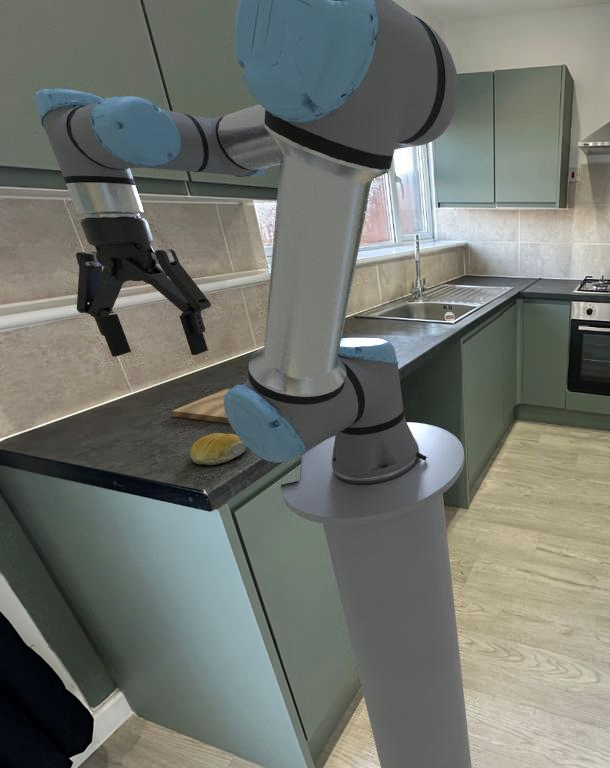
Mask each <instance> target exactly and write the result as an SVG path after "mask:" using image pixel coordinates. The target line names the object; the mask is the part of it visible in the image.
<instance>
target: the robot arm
mask: <svg viewBox="0 0 610 768" xmlns="http://www.w3.org/2000/svg"><path fill="white" fill-rule="evenodd" d="M234 48H235V56H236V60H237V63H238V65H239V66H240V67H241V68H243V69H244V71H243V72H242V80H243V81H244V85H245V86H246V88H247V90H248V92H249V93H250V95H251V96H252V97H253V99H254V100H255V102H257V104H255V105H252V106H250V107H246V108H244V109H243V108H242V109H240V110H237V111H234V112H231V113H229V114H225V115H222V116H218V117H214V118H210V117H209V118H208V117H204V116H198V115H193V114H188V113H181V112H177V111H172V110H167V109H162V108H161V107H159V106H158V105H156V103H153V102H152V101H151V100H149V99H146V98H143V97H141V96H135V95H134V96H133V95H125V96H122V95H115V96H112V97H105V98H103V97H101V96H98V95H96V94H94V93H90V92H86V91H80V90H76V89H66V88H52V89H50V88H43V89H39V90H37V91H36V92H35V95H34V101H35V104H36V108H37V111H38V115H39V122H40V123H41V126H42V127H43V129H44V131H45V133H46V136H47V139H48V142H49V143H50V146H51V149H52V151H53V154H54V156H55V159H56V162H57V164H58V167H59V169H60V172H61V174H62V177H63V180H64V183H65V186H66V188H67V191H68V194H69V197H70V199H71V203H72V205H73V208H74V212H75V213H76V214H78V215H80V216H81V215H82V216H83V218H81V220H80V221H79V223H80V225H81V229H82V231H83V234H84V236H85V238H86V239H85V240H86V241H87V243H88V244H89V245H91V246H93V247H94V248H95V251H93V250H92V251H81V252H80V251H79V252H76V254H75V258H76V262H77V266H78V281H77V296H76V297H77V299H76V311H77V312H78V313H79V314H87V315H90V316H91V317H92V318H93V319H94V321H95V323H96V327H97V329H98V331H99V333H100V334H101V336H103V337H104V339H105V342H106V344H107V346H108V349H109V352H110V354H111V356H112V357H114V358H115V357H119V356H123V355H125V354H130V353H132V350H131V347H130V344H129V342H128V339H127V336H126V334H125V331H124V329H123V326H122V323H121V320H120V317H119V314H117V313H116V312H115V310H113V308H114V306H115V304H116V301H117V299H118V297H119V295H120V292H121V290H122V287H123V285H124V283H127V282H144V283H145V284H148V285H150V286H151V287H153V288H154V289H155V290H156V291H158V292H159V294H161V295H162V296H163V297H164V298H165V299H167V300H168V301H169V302H170V303H171V304H172V305H173V306H175V307H176V308H177V309H178V310H180V311H181V314H180V315H178V316H179V320H180V324H181V326H182V329H183V332H184V336H185V338H186V341H187V345H188V349H189V351H190V353H191V356H197V355H200V354H202V353H206V352H208V351H209V349H208V346H207V342H206V338H205V335H204V333H206V326H205V323H204V320H203V317H202V311H204V310H206V309H209V308H211V307H212V303H211V301H209V299H208V297H206V295H205V293H203V291H202V290H201V289H200V288H199V286H198V285H197V283H196V282H195V281H194V280H193V279H192V277H191V276H190V275H189V273H188V272H187V271H186V269H185V268H184V267H183V265H182V264H181V263H180V260H179V258H178V256H177V253H176V251H175V250H174V249H172V248H166V249H157V250H154V249H153V247H152V244H153V242H154V238H153V235H152V232H151V228H150V226H149V222H148V220H146V219H145V218H143V217H141V215H143V214H144V213H145V212H144V208H143V206H142V202H141V198H140V196H139V193H138V189H137V186H136V183H135V180H134V177H133V174H132V170H131V169H139V168H140V169H153V170H154V169H155V170H165V171H166V170H167V171H178V172H191V173H205V174H207V173H208V174H214V175H215V174H216V175H227V176H234V177H237V178H248V177H251V178H252V177H260V176H262V175H264V174H265V172H266V170H268V168H270V167H274V166H279V172H278V181H277V184H278V185H277V194H276V195H277V197H276V207H275V219H274V229H273V242H272V252H271V253H272V254H271V263H270V264H271V265H270V274H269V288H268V299H267V311H266V320H265V321H266V323H265V334H264V335H265V336H264V344H263V345H264V346H263V347H261V348H260V349H257V350H256V351H255V352H254V353H253V354H252V355H251V356H250V358H249V361H248V370H247V380H246V382H245V383H243V384H236V385H234V386H233V388H229V389H230V390H229V391H227V393H226V394H225V397H224V409H225V413H226V416H227V418H228V420H229V423H230V424H229V425H230V426H231V428H232V430H233V431H234V433H235V435H237V436H238V437H239V438H240V440H241V441H242V442H243V443H244V444H245V445H246V448H248V450H250V451H251V452H252V453H253V454H255V455H256V456H257V457H259V458H260V459H262V460H265V461H266V462H269V463H274V464H278V463H285V462H288V461H290V460H292V459H294V458H296V457H298V456H302V455H303V454H304V453H306V451H308V450H310V449H311V448H313V447H315V446H316V445H318V444H320V443H322V442H323V441H325V440H327V439H329V438H331V437H333V436H335V442H334V448H333V455H332V469H333V473H334V475H335V477H336V478H337V479H338V480H340V481H342V482H344V483H348V484H352V485H372V484H379V483H383V482H387V481H390V480H393V479H395V478H398V477H400V476H402V475H404V474H405V473H407V472H408V471H410V470H411V469H412V468H413V467H414V466H415V465H416V464H417V462H418V460H419V458H420V459H422V460H424V461H425V460H426V458H427V457H426V456H424V455H422V454H421V453H419V446H418V444H417V441H416V440H415V438H414V436H413V434H412V432H411V430H410V428H409V426H408V424H407V419H406V417H405V411H404V403H403V394H402V387H401V379H400V372H399V370H400V369H399V361H398V359H397V353H396V349H395V347H394V345H393V344H392V343H391V342H390V341H388V340H386V339H382V338H374V337H345V338H343V332H344V328H345V322H346V317H347V311H348V307H349V302H350V296H351V292H352V287H353V281H354V277H355V271H356V266H357V262H358V261H357V260H358V255H359V250H360V246H361V240H362V235H363V229H364V224H365V220H366V214H367V209H368V203H369V199H370V193H371V189H372V183H373V182H374V181H375V180H377V179H378V178H380V177H382V176H384V175H386V174H388V173H390V171H391V168H392V162H393V158H394V154H395V151H396V150H401V149H407V148H413V147H420V146H424V145H427V144H429V143H432V142H434V141H436V140H437V139H438V138H440V137H441V136H442V135H443V134H444V133H445V132H446V130H447V129H448V128H449V126H450V125H451V123H452V122H453V119H454V117H455V115H456V110H457V106H458V103H459V102H458V100H459V91H460V90H459V78H458V72H457V69H456V68H457V67H456V65H455V62H454V59H453V56H452V54H451V51H449V49H448V47H447V45H446V43H445V41H444V40H443V39H442V37H441V36H440V35H439V34H438V33H437V31H436V30H435V29H434V28H432V27H431V25H429V24H428V23H427V22H425V21H424V20H422V19H421V18H419V16H417V15H414V14H412V13H411V12H409V11H408V10H407V9H405V8H404V7H402V5H400V4H398V3H397V2H395V1H394V0H238V3H237V7H236V13H235V20H234ZM158 265H159V266H160V267H159V266H158Z"/></svg>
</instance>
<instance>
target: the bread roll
mask: <svg viewBox="0 0 610 768" xmlns="http://www.w3.org/2000/svg"><path fill="white" fill-rule="evenodd" d="M246 450H247V446H246V445H245V444H244V443H243V442H242V441H241V440H240V438H239V437H238V436H237V434H236V433H235V434H234V433H221V432H214V433H210V434H207V435H204V436H202V437H200V438H199V439H197V440H195V442H194V443H193V444H192V445H191V448H190V451H189V456H190V459H191V461H192V462H193V463H194V464H197V465H206V466H215V465H220V464H224V463H227V462H230V461H232V460H234V459H235V458H238V457H239V456H241V455H242V454H243V453H244V452H245V451H246Z"/></svg>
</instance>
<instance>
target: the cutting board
mask: <svg viewBox="0 0 610 768" xmlns="http://www.w3.org/2000/svg"><path fill="white" fill-rule="evenodd" d="M230 389H231V388H224V389H222V390H220V391H218V392H214V393H212V394H210V395H206V396H204V397H203V398H199V399H197V400H195V401H193V402H190V403H188V404H185V405H182V406H180V407H178V408H176V409H173V410H172V411H171V413H172V415H173V417H174V418H183V419H190V420H197V421H206V422H212V423H213V422H214V423H219V424H221V423H222V424H229V425H230V423H229V420H228V418H227V416H226V413H225V409H224V397H225V394H226V393H227V391H229V390H230Z"/></svg>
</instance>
